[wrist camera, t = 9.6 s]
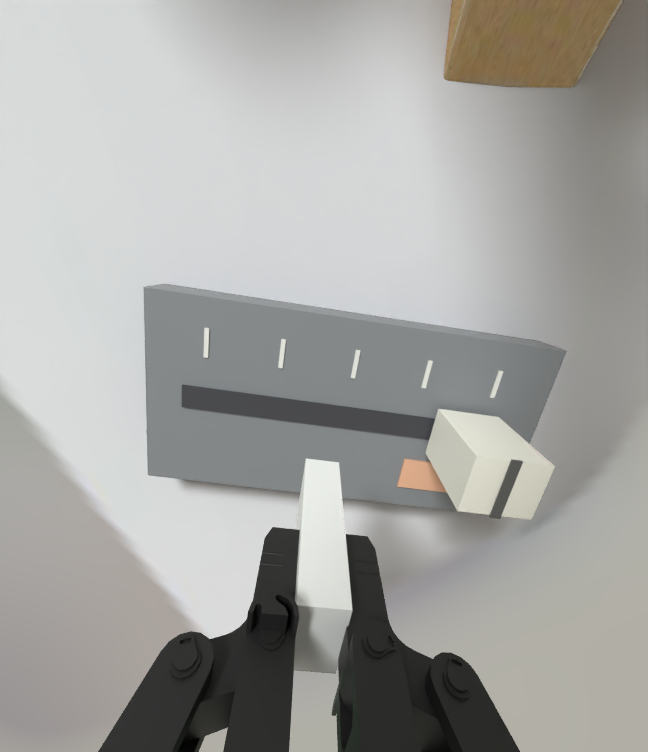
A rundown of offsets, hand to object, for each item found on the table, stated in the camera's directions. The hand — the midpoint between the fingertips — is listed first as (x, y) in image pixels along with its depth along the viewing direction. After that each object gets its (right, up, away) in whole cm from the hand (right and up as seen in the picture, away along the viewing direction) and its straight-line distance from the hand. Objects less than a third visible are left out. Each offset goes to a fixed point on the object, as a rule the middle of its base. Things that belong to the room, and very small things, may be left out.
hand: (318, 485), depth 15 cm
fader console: (+2, +3, +12) cm, 12 cm away
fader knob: (+10, +1, +9) cm, 13 cm away
